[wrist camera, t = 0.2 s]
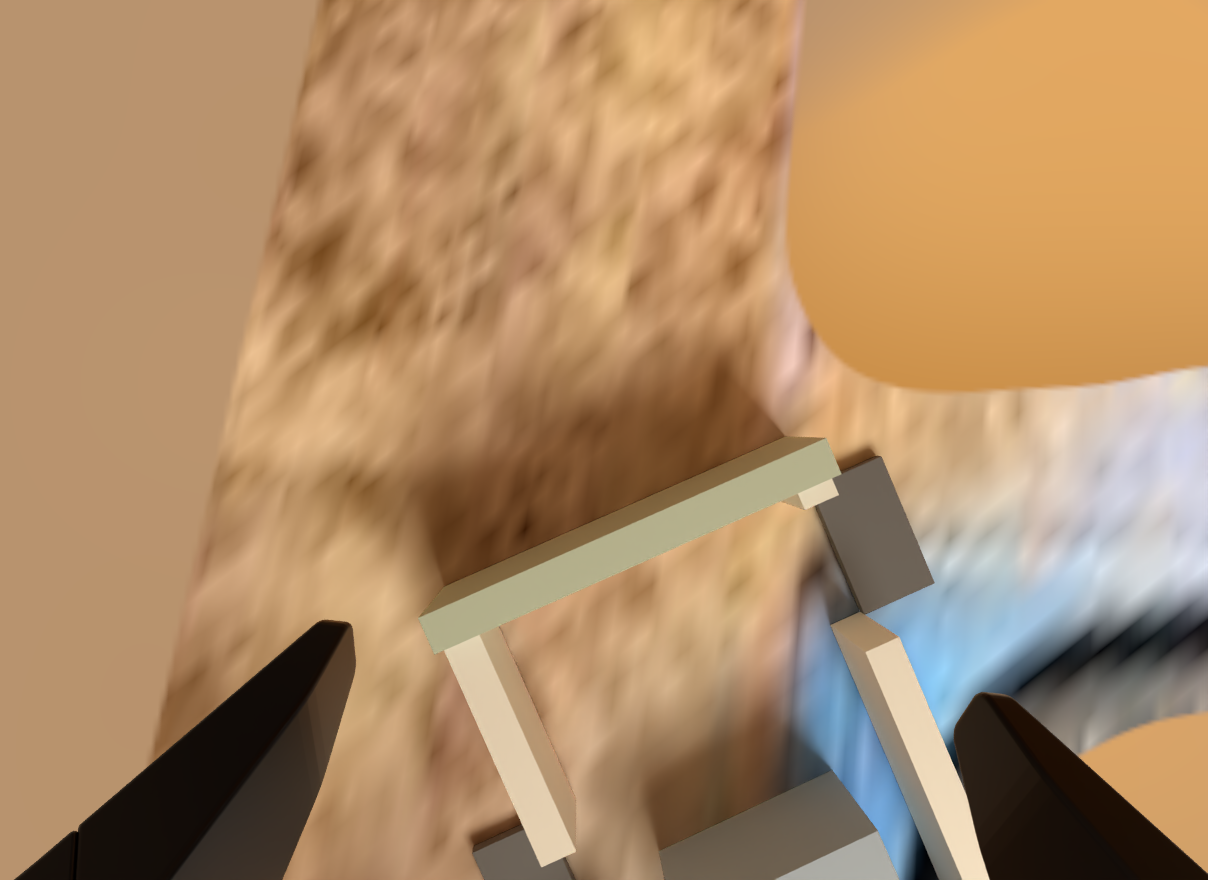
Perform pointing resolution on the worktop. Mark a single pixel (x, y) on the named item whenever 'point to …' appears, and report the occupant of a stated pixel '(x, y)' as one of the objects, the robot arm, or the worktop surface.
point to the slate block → (787, 841)
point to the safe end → (626, 538)
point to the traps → (874, 574)
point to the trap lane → (875, 673)
